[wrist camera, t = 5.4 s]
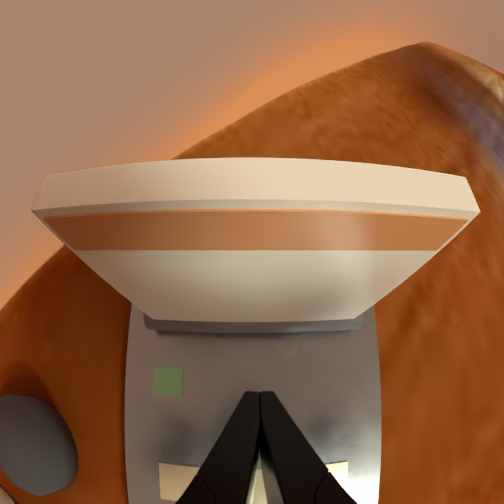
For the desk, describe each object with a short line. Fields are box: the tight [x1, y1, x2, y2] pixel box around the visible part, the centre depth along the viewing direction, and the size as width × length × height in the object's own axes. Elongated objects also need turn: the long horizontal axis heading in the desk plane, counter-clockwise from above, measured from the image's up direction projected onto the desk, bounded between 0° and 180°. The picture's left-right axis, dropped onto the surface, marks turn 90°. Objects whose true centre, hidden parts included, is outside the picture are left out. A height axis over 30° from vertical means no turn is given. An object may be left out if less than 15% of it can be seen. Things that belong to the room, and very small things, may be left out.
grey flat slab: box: [125, 303, 381, 504], centre depth 14 cm, size 16×14×1 cm
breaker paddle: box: [31, 158, 480, 333], centre depth 10 cm, size 2×11×11 cm, turn 90°
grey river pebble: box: [0, 394, 78, 496], centre depth 11 cm, size 7×7×2 cm
